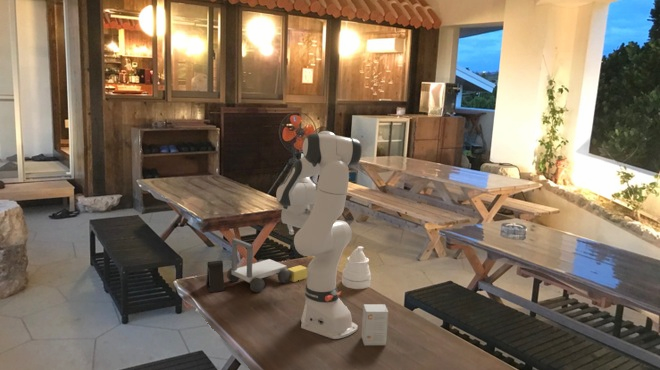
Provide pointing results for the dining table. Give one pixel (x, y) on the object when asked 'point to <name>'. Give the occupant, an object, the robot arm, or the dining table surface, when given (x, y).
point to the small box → (374, 324)
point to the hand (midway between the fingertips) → (298, 236)
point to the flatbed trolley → (255, 268)
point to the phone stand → (215, 276)
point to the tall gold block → (298, 273)
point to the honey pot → (356, 270)
